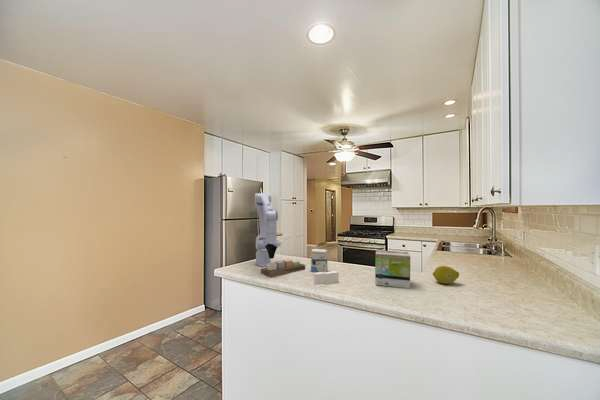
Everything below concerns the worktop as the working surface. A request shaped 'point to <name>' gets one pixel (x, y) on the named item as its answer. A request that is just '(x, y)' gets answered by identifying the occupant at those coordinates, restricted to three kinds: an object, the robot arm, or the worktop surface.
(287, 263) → the terracotta key
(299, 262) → the pale green block
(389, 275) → the tea box
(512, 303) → the worktop surface
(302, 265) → the brown wooden long tray
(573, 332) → the worktop surface
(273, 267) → the white key
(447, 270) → the lemon
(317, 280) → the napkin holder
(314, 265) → the ink box
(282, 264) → the grey key
